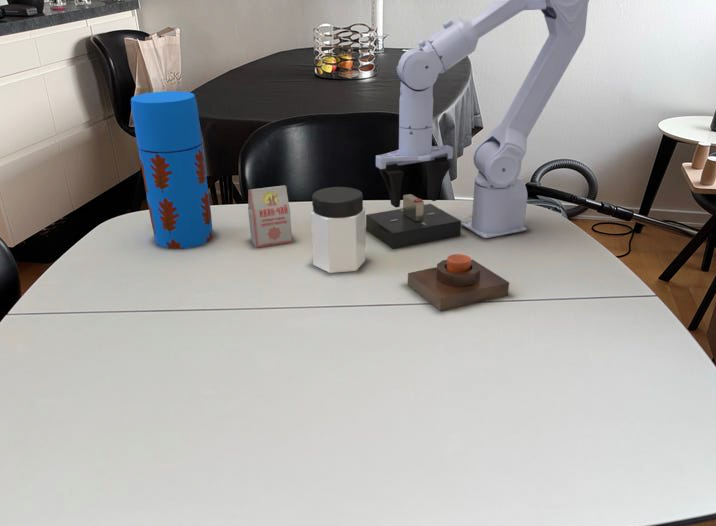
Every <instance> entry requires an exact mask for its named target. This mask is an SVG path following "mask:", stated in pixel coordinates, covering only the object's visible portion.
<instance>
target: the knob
mask: <svg viewBox="0 0 716 526" xmlns="http://www.w3.org/2000/svg"><path fill="white" fill-rule="evenodd" d="M402 198H403V199H402V209H403V214H404V215H405V216H407V217H408V218H410V219H412V220H413V221H415V222H419V221H423V212H424V205H425V201H424V199H422V198H419V197H417V196H415V195H414V194H411V193H409V194H403V195H402Z"/></svg>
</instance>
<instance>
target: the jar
mask: <svg viewBox="0 0 716 526" xmlns="http://www.w3.org/2000/svg"><path fill="white" fill-rule="evenodd" d="M311 202H312V204H311V205H312V211H311V212H310V224H311V225H310V226H311V245H312V246H311V247H312V248H311V249H312V264H313V266H314V267H316V268H318V269H320V270H323V271H325V272H327V273H328V274H336V273H347V272H348V273H349V272H357V271H358V269H359V268H360V267H361V266H362V265H363V264H364V263H365V262H366V208H365V207H363V206H364V194H363V192H362V191H361V190H360V189H357V188H353V187H347V186H332V187H324V188H321V189H318V190H316V191H315V192H313V194H312V200H311Z"/></svg>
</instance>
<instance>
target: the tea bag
mask: <svg viewBox="0 0 716 526" xmlns="http://www.w3.org/2000/svg"><path fill="white" fill-rule="evenodd" d="M287 189H288V188H287V185H278V186H277V185H276V186H269V187H262V188H260V187H259V188H253V189H252V188H251V189H248V191H247V193H248V194H247V195H248V196H247V199H248V201H247V203H248V204H247V206H248V207H247V212H248V219H249V220H248V222H249V231H250V233H249V234H250V241H251V243H252V244H253V245H254V247H255V248H263V247H270V246H276V245H282V244H289V243H293V236H292V235H293V234H292V233H293V232H292V221H291V220H292V219H291V218H292V217H291V207H290V202H289V196H288V190H287Z"/></svg>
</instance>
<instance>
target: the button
mask: <svg viewBox="0 0 716 526" xmlns="http://www.w3.org/2000/svg"><path fill="white" fill-rule="evenodd" d="M446 260H447V270H449V271H452V272H468V271H470V267H471V260H472V258H471V257H470V256H469V255H466V254H462V253H461V254H460V253H457V254H456V253H455V254H451V255H448V256H447V258H446Z"/></svg>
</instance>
